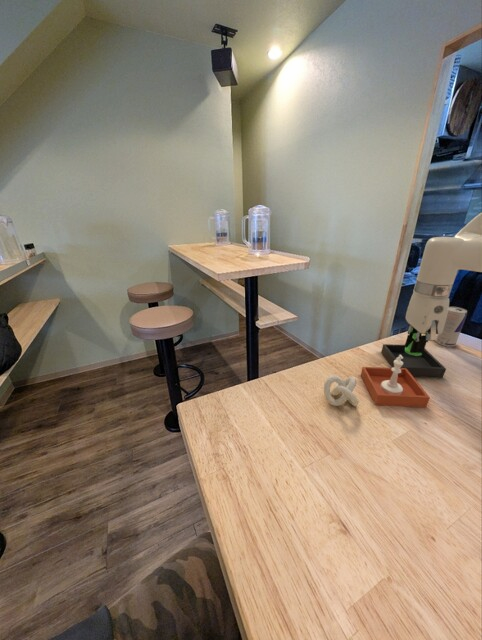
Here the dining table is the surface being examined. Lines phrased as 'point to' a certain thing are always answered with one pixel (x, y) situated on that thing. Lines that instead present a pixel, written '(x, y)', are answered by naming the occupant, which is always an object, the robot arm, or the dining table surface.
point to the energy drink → (452, 327)
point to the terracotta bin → (411, 388)
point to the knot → (340, 390)
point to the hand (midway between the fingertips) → (413, 349)
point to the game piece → (407, 349)
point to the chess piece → (393, 379)
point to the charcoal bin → (414, 361)
